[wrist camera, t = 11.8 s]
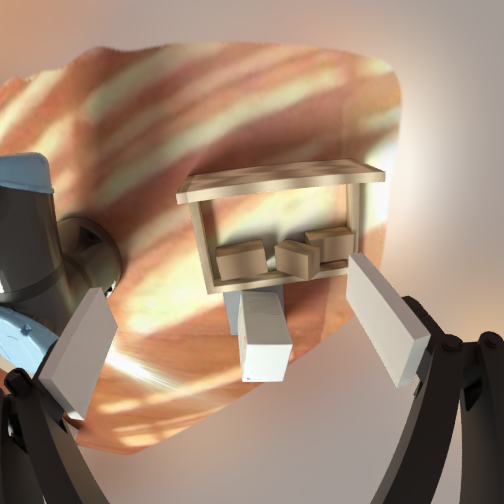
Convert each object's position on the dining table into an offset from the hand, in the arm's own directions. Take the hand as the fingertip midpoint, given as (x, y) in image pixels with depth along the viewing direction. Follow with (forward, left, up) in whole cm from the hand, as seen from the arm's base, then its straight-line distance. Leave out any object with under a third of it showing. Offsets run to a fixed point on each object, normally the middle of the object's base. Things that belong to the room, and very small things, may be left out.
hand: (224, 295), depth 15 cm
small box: (+2, -23, -28) cm, 37 cm away
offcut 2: (+10, -12, -26) cm, 31 cm away
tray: (+7, -8, -29) cm, 31 cm away
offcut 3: (+14, -12, -29) cm, 34 cm away
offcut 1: (+1, -12, -29) cm, 31 cm away
